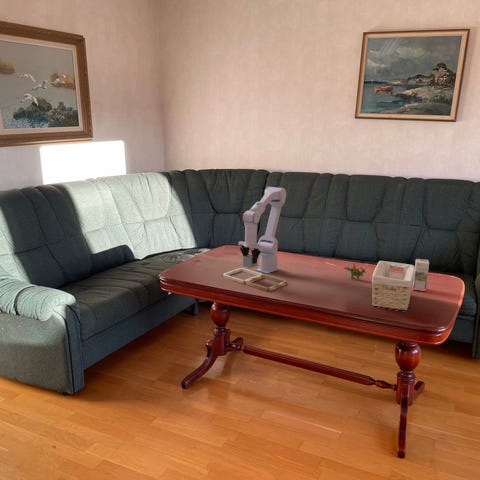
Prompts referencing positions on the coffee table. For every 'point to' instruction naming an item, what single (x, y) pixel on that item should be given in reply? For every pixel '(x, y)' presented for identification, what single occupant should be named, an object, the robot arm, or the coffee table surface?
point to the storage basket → (392, 285)
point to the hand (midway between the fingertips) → (250, 262)
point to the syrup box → (420, 274)
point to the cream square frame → (226, 275)
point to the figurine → (355, 271)
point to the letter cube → (248, 261)
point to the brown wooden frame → (282, 282)
